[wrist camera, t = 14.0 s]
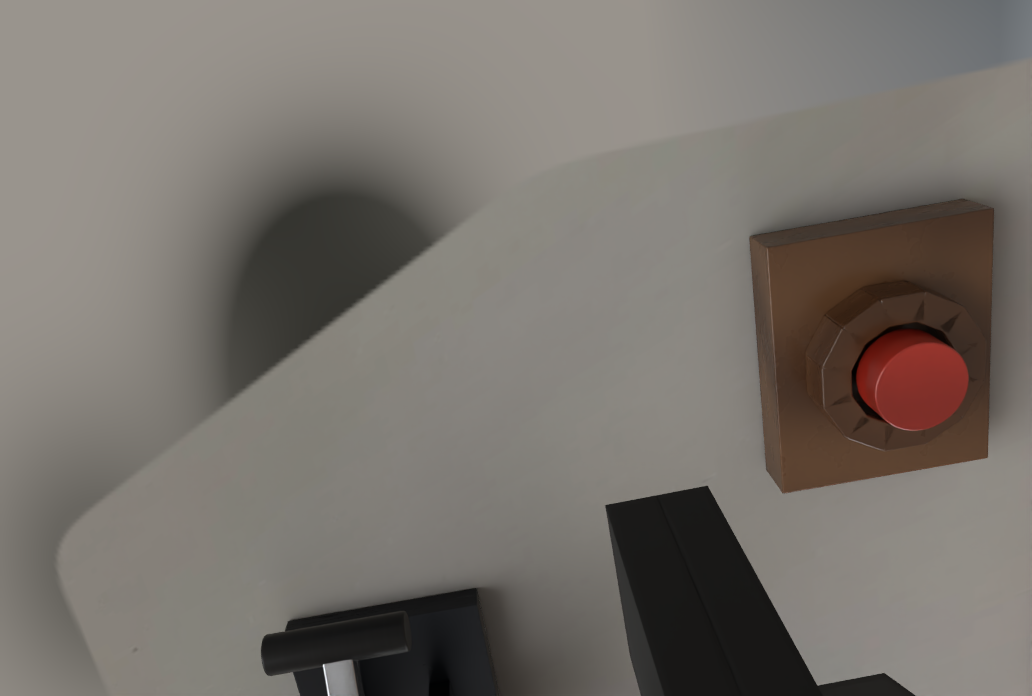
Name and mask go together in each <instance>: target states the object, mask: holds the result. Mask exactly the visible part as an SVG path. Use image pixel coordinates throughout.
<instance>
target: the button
mask: <svg viewBox="0 0 1032 696" xmlns="http://www.w3.org/2000/svg"><path fill="white" fill-rule="evenodd" d="M968 382H969V375H968V369H967V366H966V363H965V361H964V360H963V358H962V357H961V355H960V354H959V353H958V352H957V351H956V350H955V349H953V348H951V347H950V346H948V345H947V344H945V343H944V342H942V341H940V340H939V339H937V338H935V337H934V336H932V335H931V334H929V333H927V332H925V331H922V330H918V329H899V330H895V331H892V332H889V333H887V334H885V335H883V336H881V337H880V338H878V339H877V340H876V341H874V342H873V343H872V344H871V345H870V346H869V347H868V349H867V350H866V351H865V352H864V354H863V356H862V357H861V360H860V362H859V365H858V368H857V373H856V383H857V388H858V391H859V394H860V396H861V397H862V399H863V400H864V402H865V403H866V404H867V405H868V406H870V407H871V408H872V409H873V410H874V411H875V412H876V413H877V414H879V415H880V416H881V417H882V418H883V419H884V420H885V421H886V422H888V423H889V424H891V425H892V426H894V427H896V428H899V429H903V430H909V431H918V430H924V429H929V428H931V427H934V426H936V425H938V424H940V423H942V422H943V421H945V420H946V419H948V418H949V417H950V416H951V415H952V414H953V413H954V412H955V411H956V410H957V409H958V408H959V406H960V405H961V403H962V401H963V399H964V397H965V395H966V392H967V389H968Z"/></svg>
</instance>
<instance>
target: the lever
mask: <svg viewBox="0 0 1032 696" xmlns="http://www.w3.org/2000/svg"><path fill="white" fill-rule="evenodd" d="M411 645H412V637H411V628H410V622H409V618H408V615H407V613H406V612H405V611H399V612H393V613H387V614H382V615H376V616H370V617H364V618H359V619H353V620H347V621H342V622H336V623H330V624H324V625H319V626H313V627H307V628H302V629H296V630H290V631H285V632H279V633H273V634H268V635H266V636H264V638H263V641H262V646H261V658H262V664H263V668H264V671H265V673H266V674H267V675H269V676H273V675H279V674H284V673H290V672H296V671H302V670H307V669H313V668H319V667H323V670H324V676H325V682H326V688H327V694H328V696H365V695H364V689H363V683H362V677H361V671H360V665H359V660H364V659H370V658H376V657H381V656H387V655H393V654H399V653H404V652H409V651H410V650H411Z"/></svg>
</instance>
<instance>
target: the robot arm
mask: <svg viewBox="0 0 1032 696" xmlns="http://www.w3.org/2000/svg"><path fill="white" fill-rule="evenodd" d="M605 506H606V512H607V518H608V524H609V530H610V536H611V542H612V548H613V555H614V561H615V567H616V573H617V579H618V585H619V591H620V597H621V603H622V609H623V616H624V622H625V628H626V634H627V640H628V646H629V652H630V657H631V661H632V664H633V668H634V672H635V675H636V679H637V683H638V686H639V690H640V693H641V696H915V695H914V694H912V693H911V692H910V691H908V690H907V689H906V688H904V687H903V686H901V685H900V684H899V683H897V682H896V681H895V680H893V679H892V678H890V677H889V676H888V675H886V674H885V673H882V674H877V675H872V676H866V677H861V678H856V679H850V680H845V681H840V682H835V683H829V684H824V685H819V686H817V684H816V682H815V681H814V679H813V677H812V675H811V673H810V671H809V670H808V668H807V666H806V664H805V662H804V661H803V659H802V657H801V655H800V653H799V651H798V650H797V648H796V646H795V644H794V642H793V641H792V639H791V637H790V635H789V633H788V631H787V630H786V628H785V626H784V624H783V622H782V620H781V619H780V617H779V615H778V613H777V611H776V610H775V608H774V606H773V604H772V602H771V600H770V599H769V597H768V595H767V593H766V591H765V590H764V588H763V586H762V584H761V582H760V580H759V579H758V577H757V575H756V573H755V571H754V569H753V568H752V566H751V564H750V562H749V560H748V559H747V557H746V555H745V553H744V551H743V549H742V548H741V546H740V544H739V542H738V540H737V539H736V537H735V535H734V533H733V531H732V529H731V528H730V526H729V524H728V522H727V520H726V518H725V517H724V515H723V513H722V511H721V509H720V508H719V506H718V504H717V502H716V500H715V498H714V497H713V495H712V493H711V491H710V489H709V488H708V486H704V487H699V488H693V489H688V490H683V491H678V492H672V493H667V494H662V495H657V496H651V497H646V498H641V499H636V500H630V501H625V502H620V503H615V504H609V505H605Z"/></svg>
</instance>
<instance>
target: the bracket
mask: <svg viewBox="0 0 1032 696" xmlns="http://www.w3.org/2000/svg"><path fill="white" fill-rule="evenodd" d="M399 611H405V612H406V613H407V615H408V618H409V622H410V628H411V637H412V645H411V650H410V651H409V652H404V653H399V654H393V655H387V656H381V657H376V658H370V659H364V660H359V665H360V671H361V677H362V683H363V689H364V695H365V696H500V695H499V690H498V686H497V681H496V676H495V672H494V667H493V662H492V658H491V653H490V648H489V643H488V639H487V634H486V629H485V625H484V620H483V615H482V611H481V606H480V601H479V596H478V592H477V589H476V588H475V589H470V590H464V591H458V592H452V593H447V594H441V595H435V596H430V597H424V598H418V599H412V600H407V601H401V602H395V603H390V604H384V605H378V606H373V607H367V608H361V609H355V610H350V611H344V612H338V613H333V614H327V615H321V616H315V617H310V618H304V619H298V620H293V621H288V623H287V626H286V630H285V631H290V630H296V629H302V628H307V627H313V626H319V625H324V624H330V623H336V622H342V621H347V620H353V619H359V618H364V617H370V616H376V615H382V614H387V613H393V612H399ZM293 674H294V677H295V680H296V683H297V687H298V690H299V693H300V696H328V694H327V688H326V682H325V676H324V670H323V667H319V668H313V669H307V670H302V671H296V672H293Z"/></svg>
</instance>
